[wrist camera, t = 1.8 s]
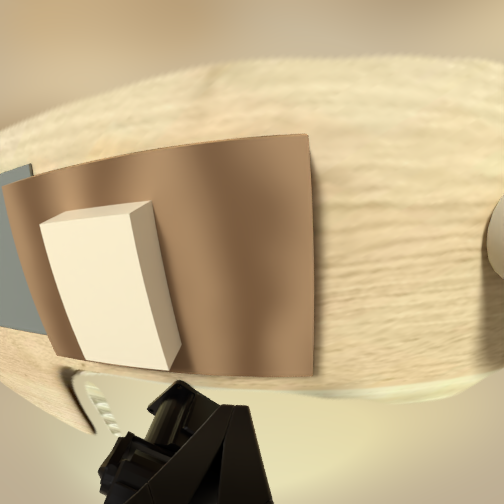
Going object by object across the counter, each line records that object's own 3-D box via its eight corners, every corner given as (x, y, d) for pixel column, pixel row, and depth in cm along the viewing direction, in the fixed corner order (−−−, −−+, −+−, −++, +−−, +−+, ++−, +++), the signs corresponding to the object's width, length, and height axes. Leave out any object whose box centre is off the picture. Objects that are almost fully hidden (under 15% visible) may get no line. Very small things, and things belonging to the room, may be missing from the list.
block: (305, 133, 17) (308, 135, 14) (311, 338, 23) (312, 376, 19) (36, 174, 20) (1, 186, 17) (79, 329, 26) (56, 355, 22)
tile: (151, 200, 16) (129, 213, 14) (181, 344, 19) (168, 370, 17) (65, 211, 17) (39, 224, 14) (103, 338, 20) (85, 359, 18)
